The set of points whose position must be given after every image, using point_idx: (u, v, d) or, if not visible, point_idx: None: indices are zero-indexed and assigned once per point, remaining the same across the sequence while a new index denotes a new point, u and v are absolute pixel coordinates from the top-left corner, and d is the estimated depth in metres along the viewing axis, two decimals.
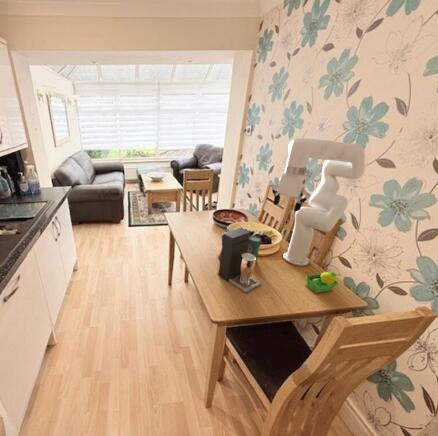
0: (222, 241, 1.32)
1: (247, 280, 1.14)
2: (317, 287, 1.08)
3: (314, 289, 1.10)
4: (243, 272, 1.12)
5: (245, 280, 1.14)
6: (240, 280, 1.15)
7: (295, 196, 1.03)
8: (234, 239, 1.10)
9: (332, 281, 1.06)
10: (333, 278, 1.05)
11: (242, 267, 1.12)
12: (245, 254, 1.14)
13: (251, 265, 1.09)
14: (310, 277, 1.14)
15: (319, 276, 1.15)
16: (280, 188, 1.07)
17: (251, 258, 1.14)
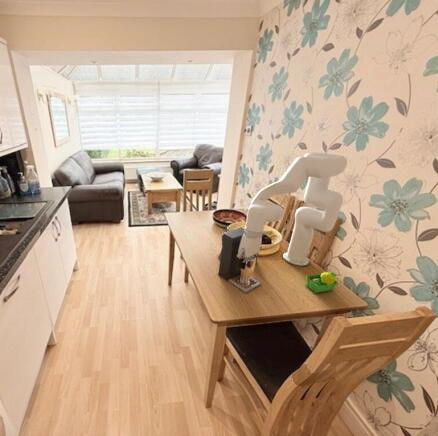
0: (222, 241, 1.32)
1: (247, 280, 1.14)
2: (317, 287, 1.08)
3: (314, 289, 1.10)
4: (243, 272, 1.12)
5: (245, 280, 1.14)
6: (240, 280, 1.15)
7: (258, 251, 1.11)
8: (234, 239, 1.10)
9: (332, 281, 1.06)
10: (333, 278, 1.05)
11: None
12: None
13: (251, 265, 1.09)
14: (310, 277, 1.14)
15: (319, 276, 1.15)
16: (249, 252, 1.06)
17: (251, 258, 1.14)
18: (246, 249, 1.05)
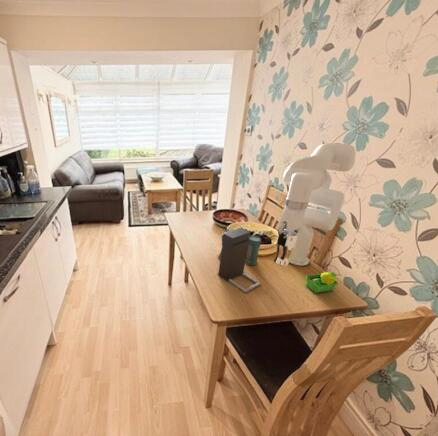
0: (222, 241, 1.32)
1: (286, 259, 1.03)
2: (317, 287, 1.08)
3: (314, 289, 1.10)
4: (282, 250, 1.01)
5: (284, 259, 1.03)
6: (278, 259, 1.04)
7: (300, 226, 1.00)
8: (234, 239, 1.10)
9: (332, 281, 1.06)
10: (333, 278, 1.05)
11: None
12: None
13: (292, 241, 0.98)
14: (310, 277, 1.14)
15: (319, 276, 1.15)
16: (292, 226, 0.95)
17: (291, 235, 1.03)
18: (289, 222, 0.94)
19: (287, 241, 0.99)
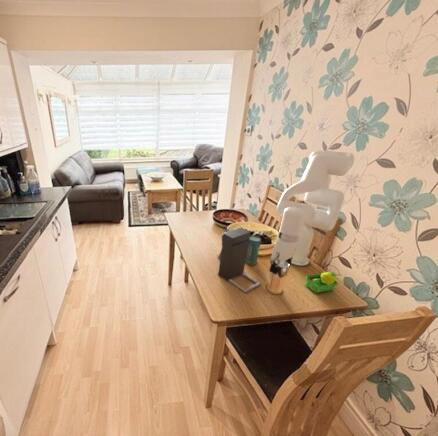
0: (222, 241, 1.32)
1: (279, 287, 1.09)
2: (317, 287, 1.08)
3: (314, 289, 1.10)
4: (275, 279, 1.07)
5: (277, 287, 1.09)
6: (271, 287, 1.10)
7: (292, 256, 1.05)
8: (234, 239, 1.10)
9: (332, 281, 1.06)
10: (333, 278, 1.05)
11: (274, 274, 1.07)
12: None
13: (284, 272, 1.04)
14: (310, 277, 1.14)
15: (319, 276, 1.15)
16: (284, 257, 1.01)
17: (283, 264, 1.09)
18: (281, 254, 1.00)
19: (279, 272, 1.05)
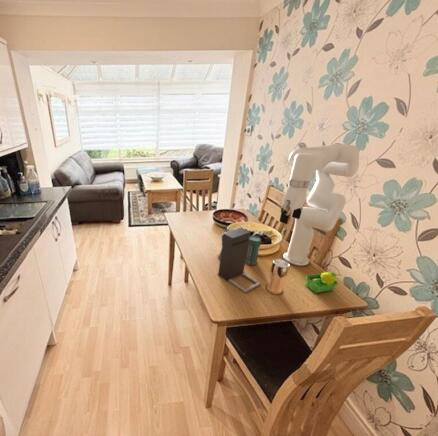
0: (222, 241, 1.32)
1: (279, 287, 1.09)
2: (317, 287, 1.08)
3: (314, 289, 1.10)
4: (275, 279, 1.07)
5: (277, 287, 1.09)
6: (271, 287, 1.10)
7: (302, 206, 1.05)
8: (234, 239, 1.10)
9: (332, 281, 1.06)
10: (333, 278, 1.05)
11: (274, 274, 1.07)
12: (277, 260, 1.10)
13: (284, 272, 1.04)
14: (310, 277, 1.14)
15: (319, 276, 1.15)
16: (295, 205, 1.01)
17: (283, 264, 1.09)
18: (292, 201, 1.00)
19: (279, 272, 1.05)
